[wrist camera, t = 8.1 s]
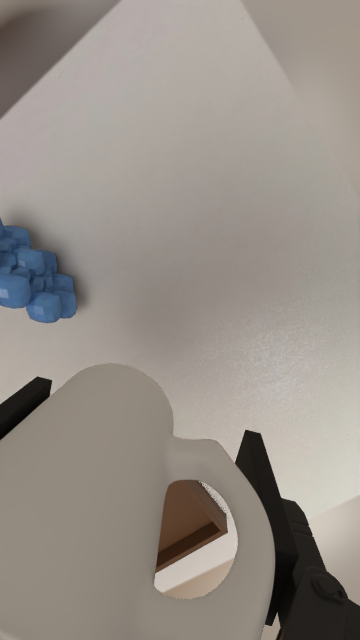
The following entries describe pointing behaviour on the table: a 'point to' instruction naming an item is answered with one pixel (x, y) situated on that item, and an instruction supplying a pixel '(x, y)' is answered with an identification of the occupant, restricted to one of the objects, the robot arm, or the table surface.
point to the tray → (187, 522)
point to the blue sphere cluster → (33, 279)
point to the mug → (116, 520)
